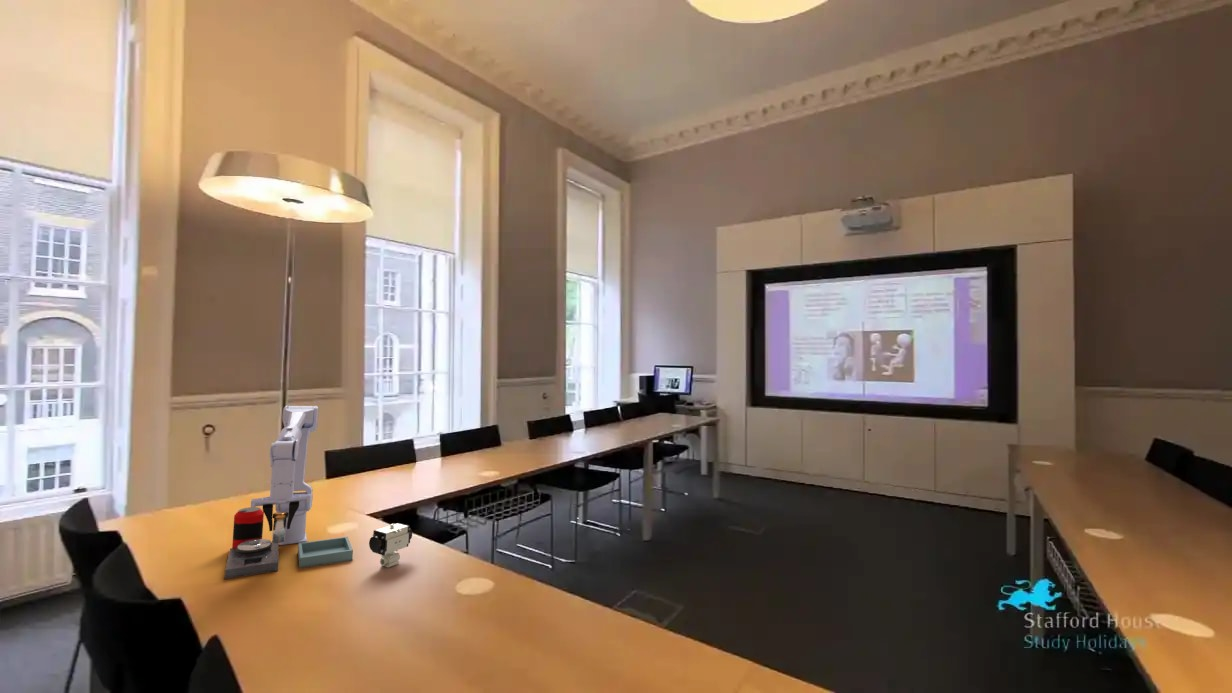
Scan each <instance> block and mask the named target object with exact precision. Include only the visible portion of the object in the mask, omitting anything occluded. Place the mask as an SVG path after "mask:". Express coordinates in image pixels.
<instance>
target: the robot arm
mask: <svg viewBox="0 0 1232 693" xmlns="http://www.w3.org/2000/svg"><path fill="white" fill-rule="evenodd" d="M319 412H320V410H319V407H318V405H288V404H287V405H285V406H284V407H283V409H282V417H281V418H282V423H283V426H284V427H283V428H282V429H281V430H280V432H279V435H278V436H277V437H278V438H277V439H276V441H275V442H272V443H271V445H270V449H269V458H270V468H271V475H270V476H271V477H270V491H269V494H270V495H269V496H266V497H258V498H251V499H250V507H251V508H252V507H262V511H263V512H264V516H265V518H266V520H267V524H268V529H269V532H273V525H274V519H273V513H274V506H275V511H276V512H288V517H287V518H286V527H285V538H284V542H281V543H278V546H283V545H291V544H298V543H303V542H308V539H307V533H306V526H307V512H309V511H310V510H311V509H312V506H313V500H314V499H313V498H314V497H313V491H314V490H313V489H314V488H313V487H312V486H311V485H309V484H308V483H306V482H305V475H306V464H307V458H308V448H309V439H310V435H311V433H313V432H315V431H317V428H318V423H319ZM276 512H275V513H276Z"/></svg>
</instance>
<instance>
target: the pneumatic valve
mask: <svg viewBox="0 0 1232 693" xmlns="http://www.w3.org/2000/svg"><path fill="white" fill-rule="evenodd" d="M412 537H413V530H412V529H411V527H410V525H409V524H404V523H400V522H397V523H390V525H388V526H385V527H384V526H383V527H382V528H377V529H375V530H373V534H372V536H371V538H369V543H368V545H369V549H370V551H371V552H372V553H374V554H377V555H381V558H380V560H379V564H380V566H382V567H386V568H388V569H389V568H392V567H394V566H397V565H398V564H399V563H400V558H401V555H400V552H398V551H399V550H401V549H404V548H407V547H409V544H411V539H412Z"/></svg>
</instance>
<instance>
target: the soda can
mask: <svg viewBox="0 0 1232 693" xmlns="http://www.w3.org/2000/svg"><path fill="white" fill-rule="evenodd" d="M264 516H265V514H264V512H263V509H261V507H260V506H256V507H252V508H251V506H250V507H244V508H240V509H239V510H238V511H237V512H236V513H235V514H234V517H233V527H232V528H233V532H232V544H231V545H232V546H231V548H237V546H238V545H239V544H241V543H243V542H246V541H250V540H253V539H263V532H264V518H265V517H264Z"/></svg>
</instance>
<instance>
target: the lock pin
mask: <svg viewBox="0 0 1232 693" xmlns="http://www.w3.org/2000/svg"><path fill="white" fill-rule="evenodd" d="M287 517H288V512H273V515H272V519H273V528H272V536H271V537H272V538H271V542H272V543H281V542H284V538H285V527H286V518H287Z"/></svg>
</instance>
